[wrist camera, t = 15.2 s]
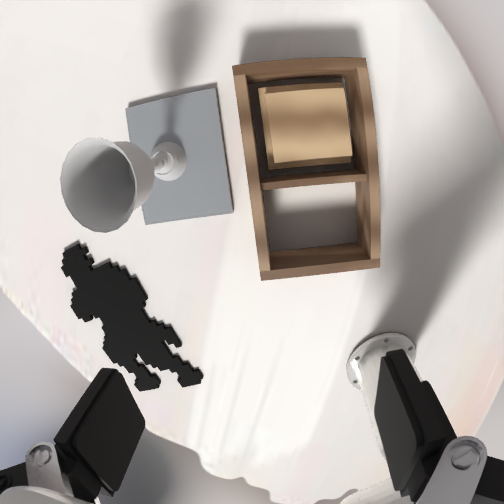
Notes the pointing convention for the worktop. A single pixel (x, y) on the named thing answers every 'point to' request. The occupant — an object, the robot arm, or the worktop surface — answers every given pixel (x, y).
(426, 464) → the robot arm
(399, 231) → the worktop surface
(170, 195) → the slate mat
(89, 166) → the chalice
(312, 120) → the oak offcut top
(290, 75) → the walnut crate
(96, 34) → the worktop surface
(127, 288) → the black silhouette cutout
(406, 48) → the worktop surface
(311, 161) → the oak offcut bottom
